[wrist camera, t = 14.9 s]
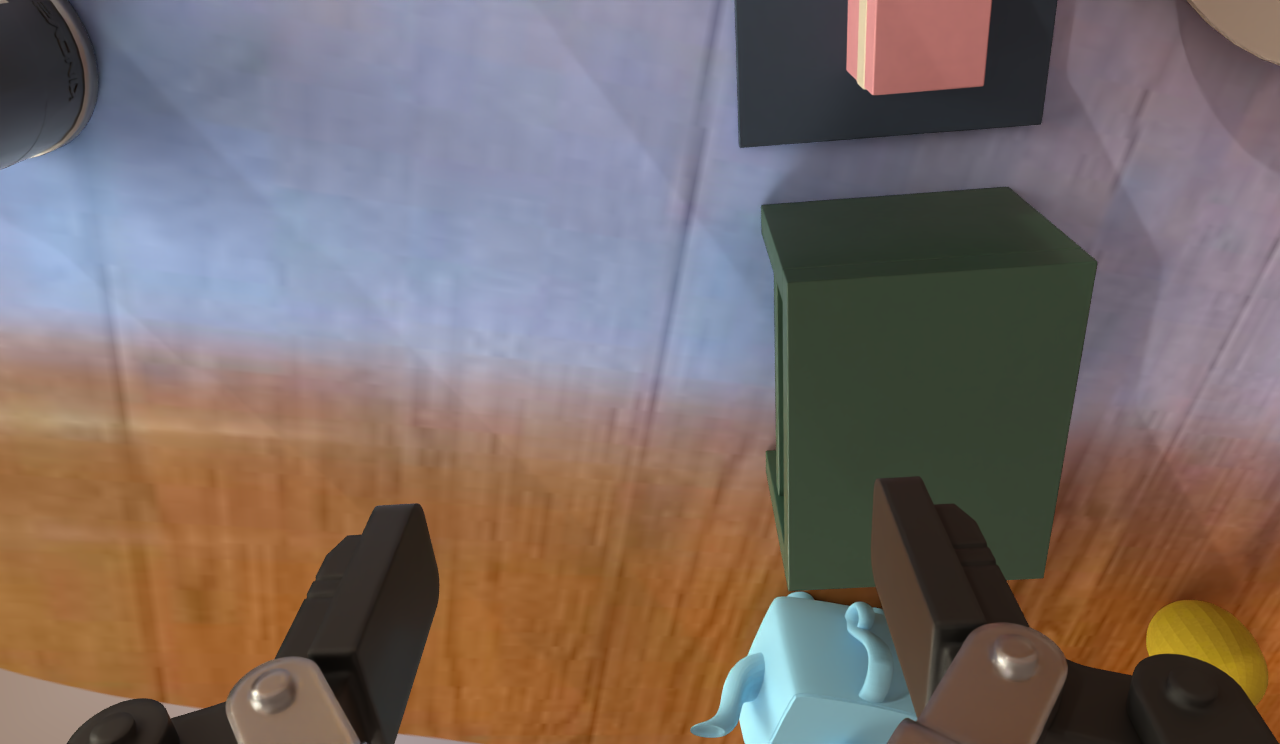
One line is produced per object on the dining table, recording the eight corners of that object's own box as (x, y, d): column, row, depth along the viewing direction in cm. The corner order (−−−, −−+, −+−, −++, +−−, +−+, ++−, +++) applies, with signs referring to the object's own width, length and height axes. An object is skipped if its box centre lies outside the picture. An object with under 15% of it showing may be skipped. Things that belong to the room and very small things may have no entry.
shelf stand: (766, 472, 51) (788, 591, 43) (760, 204, 44) (786, 282, 35) (976, 459, 51) (1044, 579, 42) (1008, 186, 43) (1098, 261, 34)
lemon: (1167, 560, 54) (1243, 660, 47) (1235, 593, 55) (1320, 696, 48) (1104, 620, 56) (1168, 724, 49) (1171, 650, 57) (1243, 756, 50)
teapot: (990, 596, 56) (1053, 729, 47) (903, 743, 62) (944, 885, 53) (714, 535, 54) (725, 662, 45) (654, 694, 60) (653, 832, 51)
